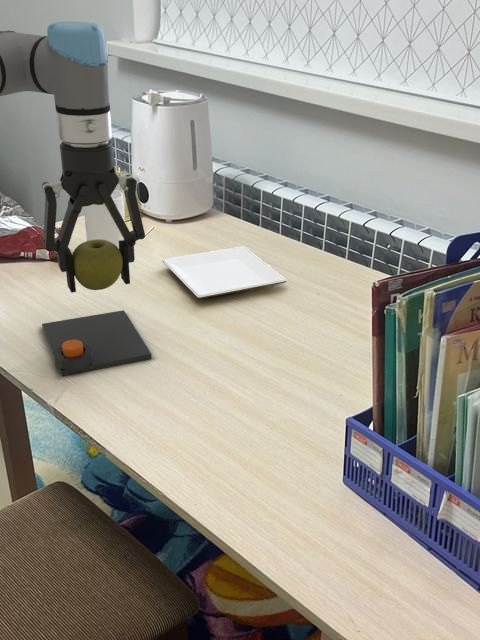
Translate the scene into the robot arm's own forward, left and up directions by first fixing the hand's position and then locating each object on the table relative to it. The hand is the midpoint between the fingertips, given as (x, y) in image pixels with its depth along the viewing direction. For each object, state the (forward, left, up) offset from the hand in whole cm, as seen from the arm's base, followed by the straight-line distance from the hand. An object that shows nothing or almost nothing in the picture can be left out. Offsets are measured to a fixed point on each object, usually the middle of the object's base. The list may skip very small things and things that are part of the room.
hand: (99, 284), depth 111 cm
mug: (-36, +10, -9) cm, 38 cm away
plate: (-13, +27, -9) cm, 31 cm away
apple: (0, 0, 0) cm, 0 cm away
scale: (+3, -2, -9) cm, 10 cm away
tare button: (+8, -7, -7) cm, 13 cm away
